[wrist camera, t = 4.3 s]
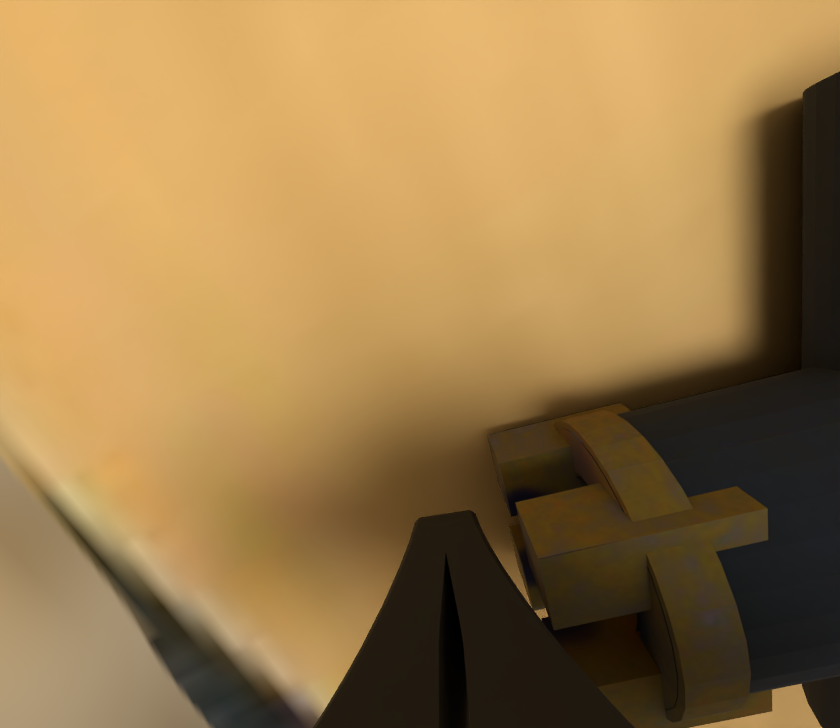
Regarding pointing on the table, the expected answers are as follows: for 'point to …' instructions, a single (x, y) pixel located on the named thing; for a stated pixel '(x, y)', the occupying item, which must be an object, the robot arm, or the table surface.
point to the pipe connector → (701, 514)
